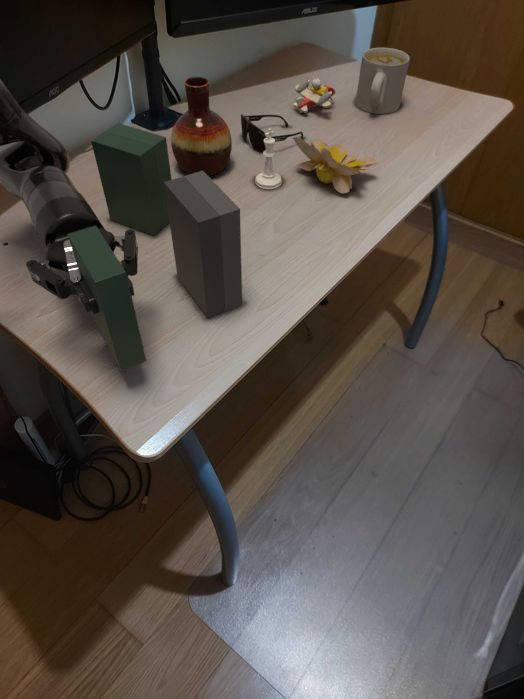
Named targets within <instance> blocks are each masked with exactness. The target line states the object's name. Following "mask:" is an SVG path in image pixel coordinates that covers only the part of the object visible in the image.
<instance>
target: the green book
mask: <svg viewBox="0 0 524 699" xmlns="http://www.w3.org/2000/svg"><path fill="white" fill-rule="evenodd" d="M68 238H69V241H70V244H71V247H72V250H73V253H74V256H75V260H76V263H77V266H78V269H79V271H80V273H81V276H82V280H83V281H84V280H85V282H86V284H87V285H88V287H89V289H90V291H91V293H92V294H93V296H94V298H95V300H96V303H97V306H98V310H99V313H97V314H94V315H93V314H92V315H93V318H94V322H95V325H96V326H97V329H98V330H99V333H100V335H101V336H102V338H103V340H104V341H105V344H106V345H107V347H108V349H109V350H110V354H111V355H112V357H113V359H114V360H115V362H116V364H117V366H118V368H119V370H120V372H123V371H126V370H128V369H131V368H133V367H135V366H138V365H141V364H143V363H146V362H147V358H146V354H145V349H144V344H143V339H142V336H141V331H140V327H139V322H138V319H137V314H136V310H135V306H134V301H133V296H131V292H130V288H129V284H128V279H127V275H126V272H125V270H124V268H123V267H122V265H121V264H120V262H121V261H120V260H119V259H118V257H117V256H116V254H115V252H114V253H113V251H112V250H111V248H110V247H109V245H108V243H107V242H106V240H105V239H104V237H103V236H102V234H101V232H100V231H99V229H98V228H97V226H93V227H89V228H86V229H83V230H79V231H76V232H72V233H69V234H68ZM118 260H119V261H120V262H119V261H118Z"/></svg>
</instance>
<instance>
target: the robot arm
mask: <svg viewBox="0 0 524 699" xmlns="http://www.w3.org/2000/svg"><path fill="white" fill-rule="evenodd" d="M7 145H8V146H7ZM2 146H6V147H4V148H3V149H1V150H0V185H1V186H2V187H3V188H5V190H7V191H8V192H9V193H10V194H11V195H13V196H14V197H16V198H17V199H19V200H20V201H22V202H23V204H24V205H25V206H24V207H25V208H26V210H27V212H28V214H29V218H30V221H31V223H32V226H33V228H34V230H35V233H36V235H37V236H38V237H39V239H40V242H41V243H42V245H43V247H44V249H45V253H44V258H43V259H41V260H40V261H38V260H36V259H30V260H28V261H26V263H25V265H26V268H27V270H28V273H29V275H30V278H31V280H32V282H33V283H35V284H36V285H38V286H39V287H41V288H43V289H44V290H46V291H48V293H50V294H52V295H54V296H55V297H56V298H58V299H60V300H66V299H68V298H70V296H74V297H77V299H78V301H79V304H80V305H81V307H82V309H83V311H85V312H86V313H88V312H91V313H92V315H94V314H97V313H99V310H98V306H97V303H96V300H95V298H94V296H93V294H92V293H91V291H90V289H89V287H88V285H87V284H86V282H85V280H84V281H83V280H82V276H81V273H80V271H79V269H78V266H77V263H76V260H75V256H74V253H73V250H72V247H71V244H70V241H69V238H68V234H69V233H72V232H76V231H79V230H83V229H86V228H89V227H93V226H97V228H98V229H99V231H100V232H101V234H102V236H103V237H104V239H105V240H106V242H107V243H108V245H109V247H110V248H111V250H112V251H113V253H114V254H115V250H116V248H119V250H120V251H121V252H123V259H122V260H121V261H120V260H119V259H118V261H119V262H120V264H121V265H122V267H123V268H124V270H125V272H126V275H127V279H128V284H129V288H130V292H131V296H132V297H133V296H135V290H134V284H133V282H132V280H131V279H130V277H133V276H136V275H137V274H138V271H139V270H138V265H139V264H138V262H139V246H138V241H137V236H136V231H135V229H127V230H125V231H124V235H116V236H115V235H114V234H113V233H112V232H110V231H108V230H107V229H106V228H105V227H104V225H103V224H102V222H101V221H100V219H99V218H98V217H97V215H96V212H94V210H93V209H92V206H90V204H89V202H88V201H87V199H86V198H85V197H84V196H83V194H82V193H81V192H79V190H78V189H77V188H76V186H75V184H74V183H73V181H72V180H71V178H70V177H69V175H68V174H67V173H68V172H69V170H70V166H71V158H70V155H69V152H68V150H67V149H66V148H65V146H64V145H63V143H62V142H61V141H60V140H59V139H58V138H57V137H55V136H54V135H53V134H52V133H51V132H49V131H48V130H47V129H46V128H44V127H43V126H42V125H40V124H39V123H38V122H36V121H35V120H34V119H33V118H32V117H31V116H30V115H29V114H28V113H27V112H26V111H25V110H24V109H23V108H22V106H21V105H20V104H19V102H17V99H15V97H14V96H13V94H12V93H11V92H10V90H9V89H8V88H7V85H6V84H5V83H4V81H3V80H2V79H1V78H0V147H2ZM52 269H54V270H57V271H60V272H63V273H66V274H69V278H64V276H61V275H60V274H58V273H57V272H55V271H54V270H52ZM129 276H130V277H129Z"/></svg>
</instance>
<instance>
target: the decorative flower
mask: <svg viewBox="0 0 524 699" xmlns="http://www.w3.org/2000/svg"><path fill="white" fill-rule="evenodd" d="M292 140H293V141H294V142H295V144H296V146H297V147H298V148H299V149H300V151H301V152H302V153H303V154H304V156H306V157H307V158H308V159H309V160H306V161H302V162H301V163H299V164H296V167H298V168H300V169H303V170H304V171H307V172H309V171H314V170H315V173H316V177H317V178H318V180H319V181H320V182H321V183H324V184H329V183H332V185H333V187H334V189H335V190H336V191H337V192H338V193H340V194H347V193H349V192H350V189H351V190H353V180H352V176H353V175H357V174H362V173H364V172H365V171H368V168H369V167H372V166H374V165H377V164H379V161H378V160H377V159H376V158H375V157H369V156H366V157H365V156H364V157H358V156H357V155H354V154H348V153H349V148H348V147H346V146H344V145H341V144H335V145H332V146H331V145H329V144H328V143H326V142H325V141H320V140H315V139H311V140H309V141H308V143H307V142H306V141H305V140H304V139H303V138H302V139H301V137H298V136H292Z"/></svg>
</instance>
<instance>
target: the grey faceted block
mask: <svg viewBox="0 0 524 699" xmlns="http://www.w3.org/2000/svg"><path fill="white" fill-rule="evenodd" d="M164 188H165V195H166V201H167V208H168V215H169V228H170V235H171V241H172V242H171V243H172V249H173V256H174V261H175V268H176V276H177V279H178V280H179V281H180V283H181V284H182V285H183V287H184V288H185V289H186V291H187V292H188V294H189V296H190V297H192V299H193V300H194V302H195V303H196V305H197V306H198V307H199V309H200V311H202V313H203V315H205V317H206V318H207V319H209V318H211V317H214V316H217V315H219V314H221V313H224V312H226V311H229V310H232V309H234V308H237V307H240V306H242V305H243V283H242V282H243V279H242V278H243V277H242V238H241V237H242V236H241V235H242V234H241V232H242V230H241V209H240V207H239V206H238V205H237V204H236V203H235V202H234V201H233V200H232V199H231V198H230V197H229V196H228V195H227V194H226V192H224V191H223V189H221V187H219V186H218V184H216V182H215V181H213V179H212V178H211V176H208V175H207V174H206V173H205V172H204V171H200V172H197V173H193V174H187V175H184V176H180V177H176V178H173V179H172V180H169V181H166V182H164Z"/></svg>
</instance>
